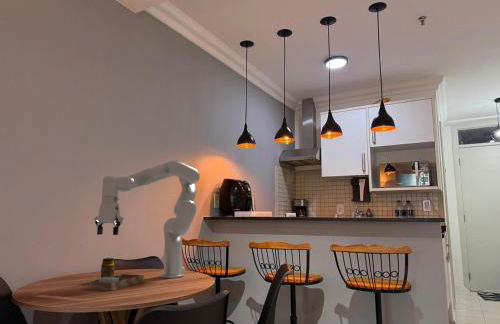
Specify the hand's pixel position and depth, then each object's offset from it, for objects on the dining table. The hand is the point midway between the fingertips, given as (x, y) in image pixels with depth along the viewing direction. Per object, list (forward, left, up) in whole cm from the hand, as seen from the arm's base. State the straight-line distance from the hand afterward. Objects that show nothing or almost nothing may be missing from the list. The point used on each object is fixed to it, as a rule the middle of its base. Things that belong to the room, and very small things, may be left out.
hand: (107, 234), depth 181 cm
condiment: (0, 0, -24) cm, 24 cm away
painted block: (+12, +12, -23) cm, 28 cm away
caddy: (+6, +12, -24) cm, 27 cm away
